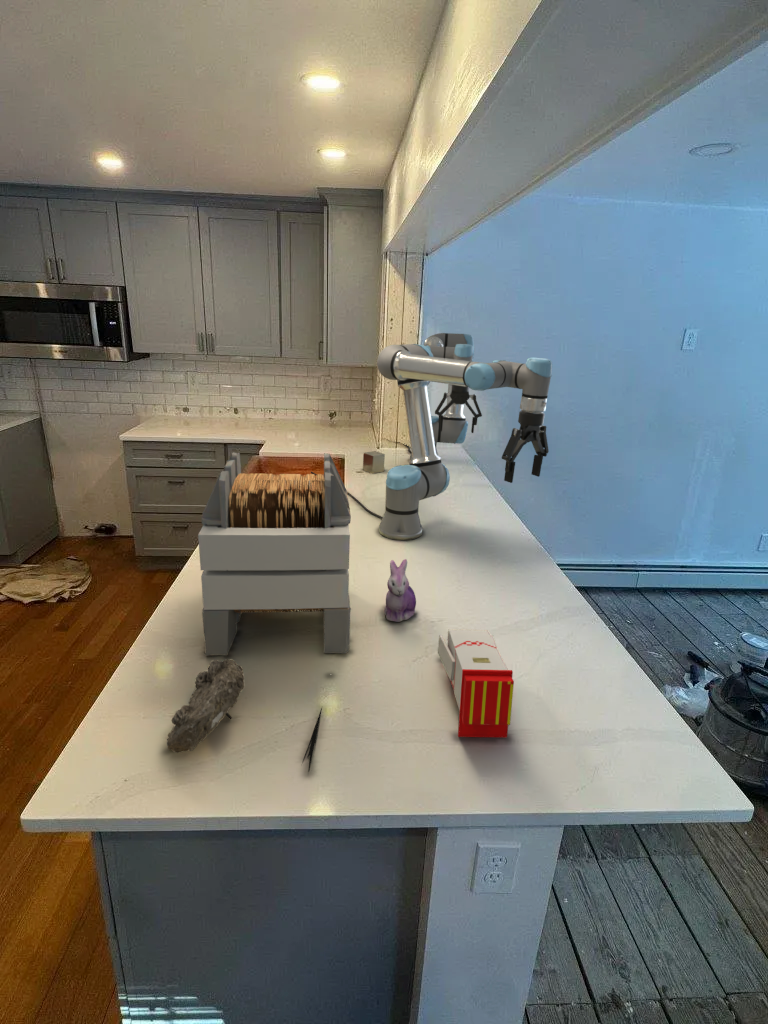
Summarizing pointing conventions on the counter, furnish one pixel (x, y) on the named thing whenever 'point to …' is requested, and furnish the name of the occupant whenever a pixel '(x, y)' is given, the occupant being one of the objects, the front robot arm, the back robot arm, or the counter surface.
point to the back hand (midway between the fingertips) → (456, 431)
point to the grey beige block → (373, 462)
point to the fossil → (206, 705)
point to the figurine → (399, 594)
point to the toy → (478, 682)
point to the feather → (313, 740)
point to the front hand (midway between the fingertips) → (522, 478)
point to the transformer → (275, 551)
